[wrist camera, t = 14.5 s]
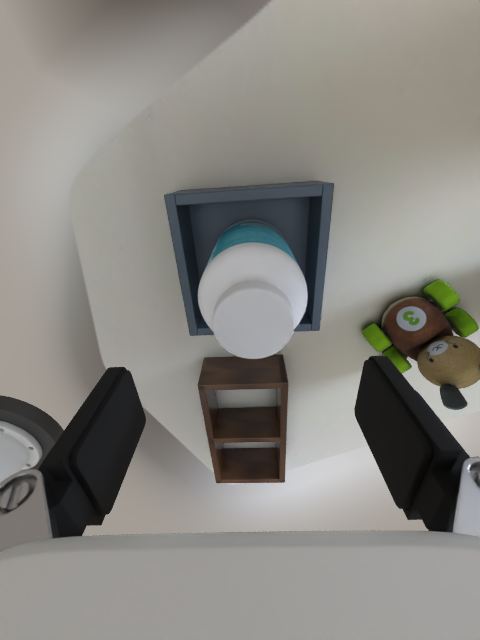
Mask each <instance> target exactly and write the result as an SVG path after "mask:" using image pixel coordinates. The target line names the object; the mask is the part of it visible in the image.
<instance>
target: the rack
mask: <svg viewBox="0 0 480 640" xmlns="http://www.w3.org/2000/svg"><path fill="white" fill-rule="evenodd" d="M271 388H277V390H276V407H263V408H221V409H218V406H217V400H216V393H215V390H235V389H271ZM198 389H199V394H200V400H201V405H202V410H203V415H204V421H205V426H206V431H207V437H208V442H209V447H210V452H211V458H212V463H213V468H214V474H215V479H216V483H265V482H266V483H272V482H273V483H277V482H285V460H286V431H287V403H288V379H287V374H286V368H285V363H284V358H283V355H272V356H268V357H265V358H259V359H247V358H242V357H214V358H204V361H203V365H202V370H201V374H200V378H199V382H198ZM230 442H276V448H240V449H224V447H223V443H230Z"/></svg>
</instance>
